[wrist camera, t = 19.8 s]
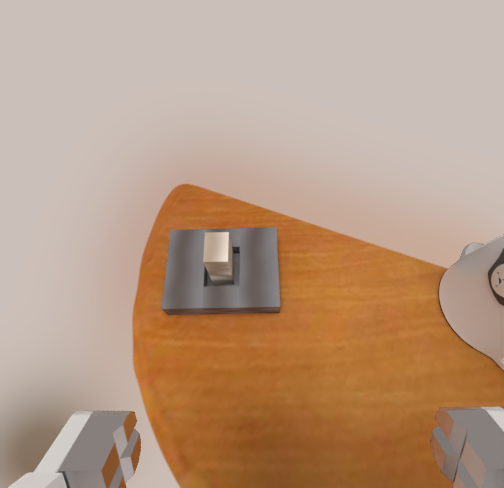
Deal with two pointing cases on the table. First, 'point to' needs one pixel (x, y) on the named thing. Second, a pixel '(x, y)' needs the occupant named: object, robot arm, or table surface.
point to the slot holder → (222, 296)
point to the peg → (219, 258)
